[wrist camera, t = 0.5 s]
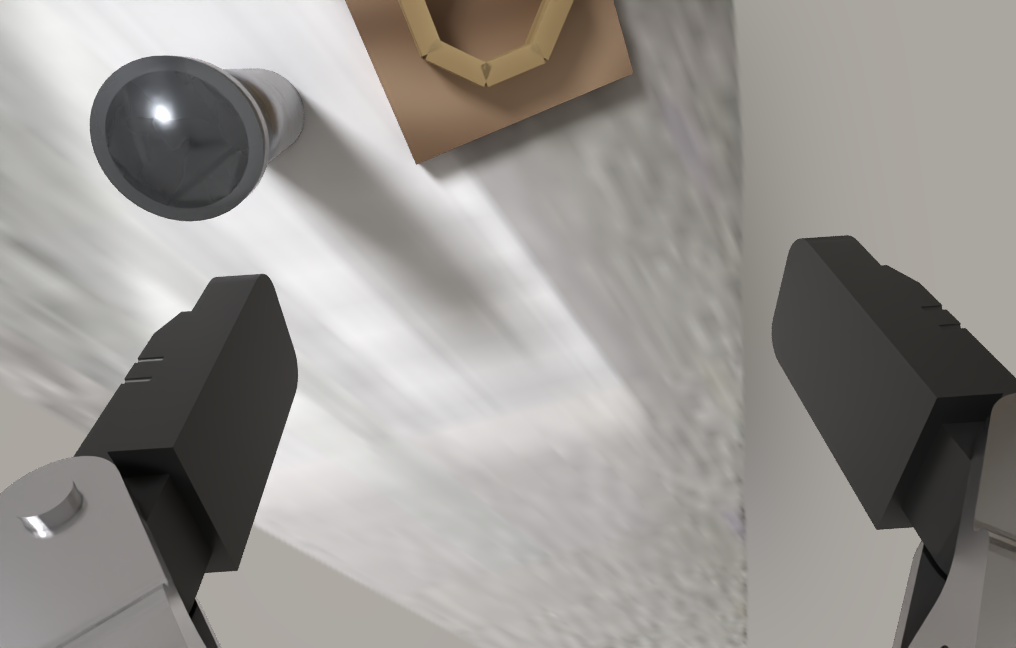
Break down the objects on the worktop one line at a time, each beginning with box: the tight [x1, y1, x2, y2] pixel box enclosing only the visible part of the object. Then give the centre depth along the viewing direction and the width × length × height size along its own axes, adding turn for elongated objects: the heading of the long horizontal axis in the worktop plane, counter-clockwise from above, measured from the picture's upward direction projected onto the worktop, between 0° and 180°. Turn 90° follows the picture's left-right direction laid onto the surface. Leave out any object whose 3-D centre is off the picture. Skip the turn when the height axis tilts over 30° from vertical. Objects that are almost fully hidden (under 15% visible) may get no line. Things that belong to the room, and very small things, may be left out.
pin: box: [90, 56, 304, 221], centre depth 26 cm, size 5×5×14 cm
